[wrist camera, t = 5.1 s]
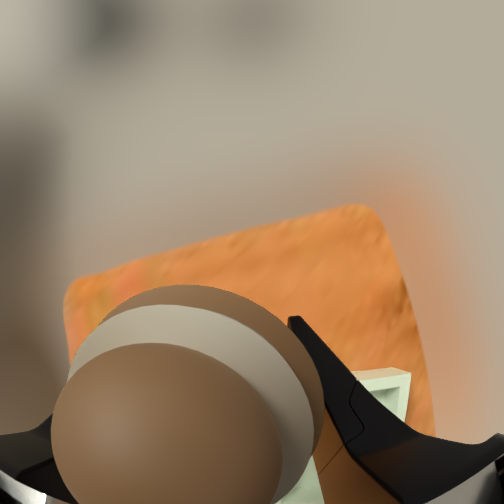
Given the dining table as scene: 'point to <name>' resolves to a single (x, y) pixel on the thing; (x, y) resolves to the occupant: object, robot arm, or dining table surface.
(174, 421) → the pepper mill
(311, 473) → the serving tray
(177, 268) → the dining table surface
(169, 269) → the dining table surface
